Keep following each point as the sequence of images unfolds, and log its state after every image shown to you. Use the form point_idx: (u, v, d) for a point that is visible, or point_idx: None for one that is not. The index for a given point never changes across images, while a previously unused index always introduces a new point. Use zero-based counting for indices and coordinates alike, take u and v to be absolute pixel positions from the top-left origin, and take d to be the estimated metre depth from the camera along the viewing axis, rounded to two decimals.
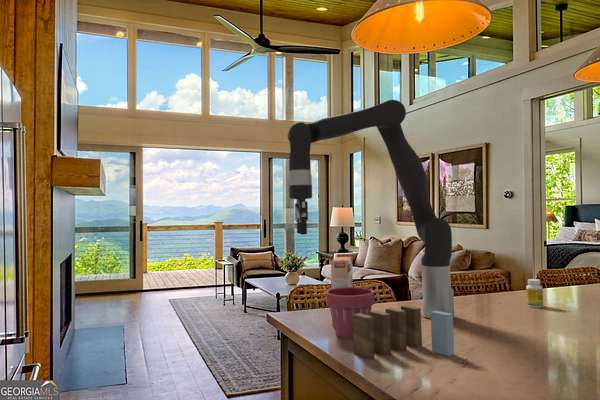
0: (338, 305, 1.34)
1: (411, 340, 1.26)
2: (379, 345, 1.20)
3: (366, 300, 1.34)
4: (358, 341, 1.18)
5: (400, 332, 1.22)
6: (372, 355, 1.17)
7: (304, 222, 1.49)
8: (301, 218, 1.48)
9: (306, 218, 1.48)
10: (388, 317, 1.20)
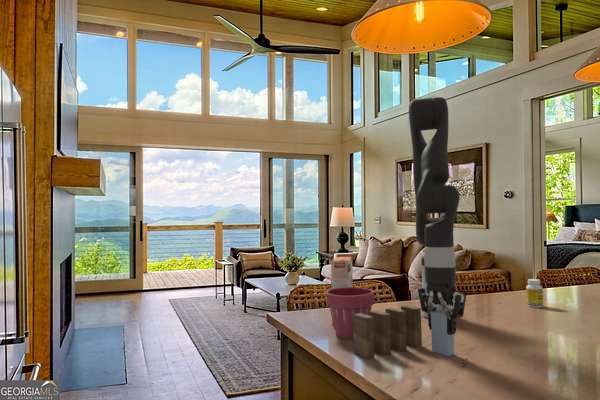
0: (338, 305, 1.34)
1: (411, 340, 1.26)
2: (379, 345, 1.20)
3: (366, 300, 1.34)
4: (358, 341, 1.18)
5: (400, 332, 1.22)
6: (372, 355, 1.17)
7: None
8: None
9: None
10: (389, 317, 1.20)
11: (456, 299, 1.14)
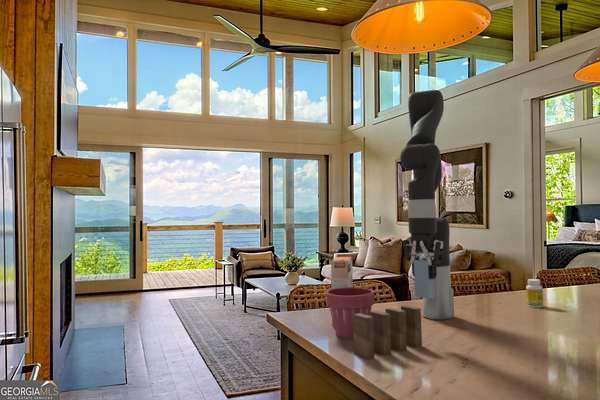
0: (338, 305, 1.34)
1: (411, 340, 1.26)
2: (379, 345, 1.20)
3: (366, 300, 1.34)
4: (358, 341, 1.18)
5: (400, 332, 1.22)
6: (372, 355, 1.17)
7: None
8: None
9: None
10: (388, 317, 1.20)
11: (436, 245, 1.25)
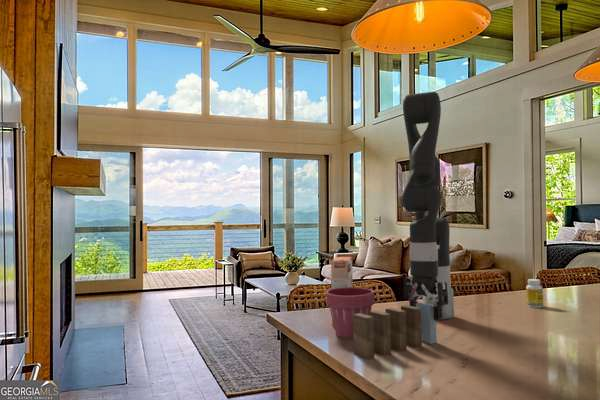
0: (338, 305, 1.34)
1: (411, 340, 1.26)
2: (379, 345, 1.20)
3: (366, 300, 1.34)
4: (358, 341, 1.18)
5: (400, 332, 1.22)
6: (372, 355, 1.17)
7: None
8: None
9: None
10: (389, 317, 1.20)
11: (438, 287, 1.25)
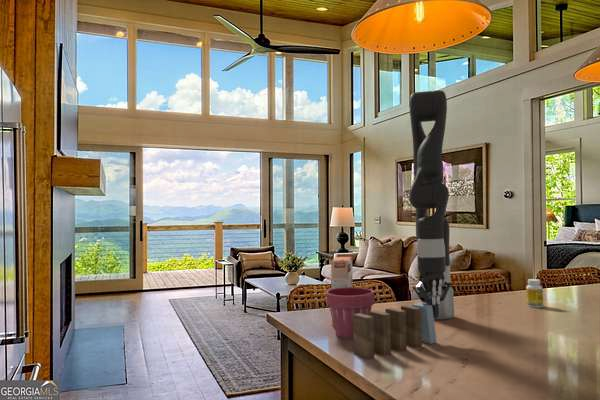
0: (338, 305, 1.34)
1: (411, 340, 1.26)
2: (379, 345, 1.20)
3: (366, 300, 1.34)
4: (358, 341, 1.18)
5: (400, 332, 1.22)
6: (372, 355, 1.17)
7: None
8: None
9: None
10: (388, 317, 1.20)
11: None
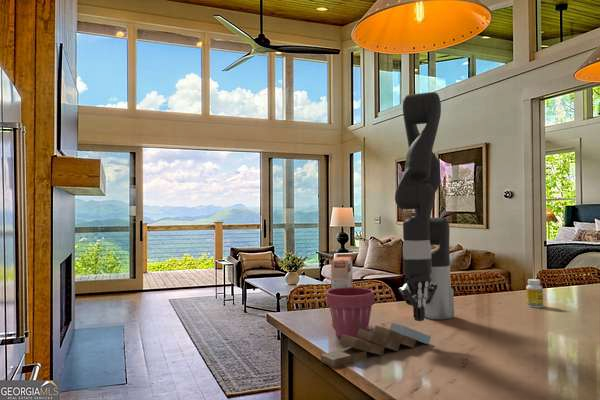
0: (338, 305, 1.34)
1: None
2: None
3: (366, 300, 1.34)
4: None
5: (385, 345, 1.19)
6: (364, 353, 1.15)
7: None
8: None
9: None
10: (357, 340, 1.14)
11: None
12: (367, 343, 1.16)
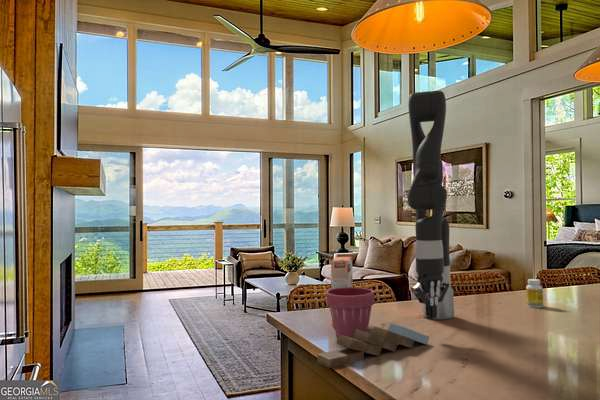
0: (338, 305, 1.34)
1: (403, 345, 1.24)
2: None
3: (366, 300, 1.34)
4: None
5: (382, 346, 1.19)
6: (361, 354, 1.15)
7: None
8: None
9: None
10: (353, 340, 1.14)
11: None
12: (364, 344, 1.16)
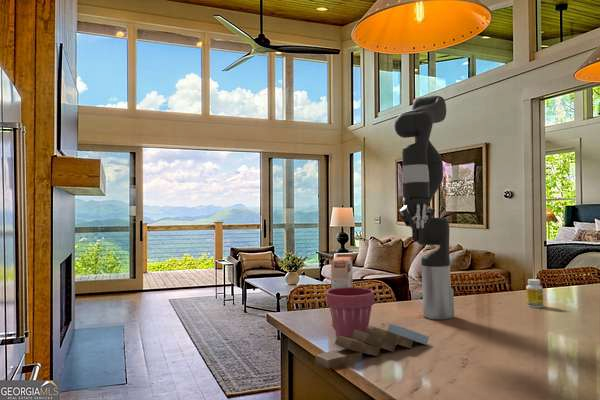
0: (338, 306, 1.34)
1: None
2: None
3: (366, 300, 1.34)
4: None
5: (380, 346, 1.19)
6: (359, 354, 1.14)
7: None
8: None
9: None
10: (352, 341, 1.13)
11: None
12: (362, 344, 1.15)
